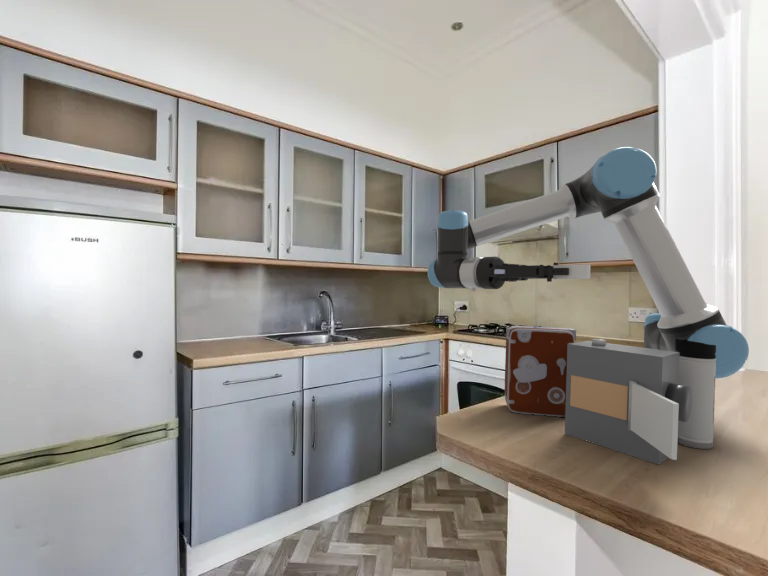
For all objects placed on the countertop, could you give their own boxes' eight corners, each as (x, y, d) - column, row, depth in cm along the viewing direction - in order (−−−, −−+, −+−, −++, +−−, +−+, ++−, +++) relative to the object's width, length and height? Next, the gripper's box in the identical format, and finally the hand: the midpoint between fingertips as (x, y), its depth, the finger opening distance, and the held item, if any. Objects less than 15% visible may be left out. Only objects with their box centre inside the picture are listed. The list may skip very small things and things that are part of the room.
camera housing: (692, 456, 69) (696, 348, 69) (676, 470, 63) (680, 353, 63) (585, 424, 83) (588, 335, 83) (564, 434, 77) (567, 338, 77)
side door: (626, 428, 68) (628, 380, 68) (632, 429, 68) (634, 381, 68) (670, 460, 56) (672, 402, 56) (677, 461, 56) (679, 402, 55)
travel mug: (661, 436, 78) (665, 336, 77) (692, 436, 78) (695, 336, 78) (688, 449, 71) (692, 341, 71) (722, 449, 72) (726, 341, 72)
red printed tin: (600, 423, 85) (603, 331, 84) (506, 414, 88) (509, 326, 88) (587, 409, 94) (589, 326, 93) (502, 402, 97) (505, 323, 97)
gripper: (499, 289, 96) (602, 291, 78) (466, 288, 88) (572, 291, 70) (500, 258, 96) (603, 253, 78) (466, 255, 88) (573, 249, 69)
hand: (588, 271), depth 74 cm, fingers closed
